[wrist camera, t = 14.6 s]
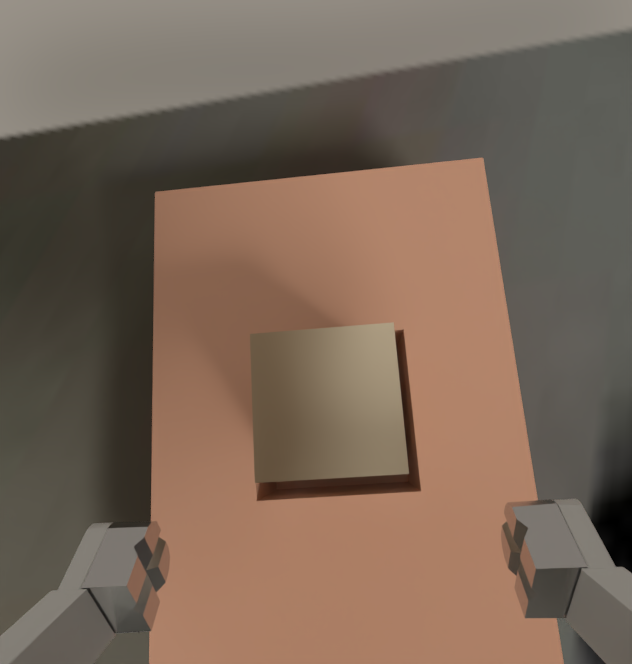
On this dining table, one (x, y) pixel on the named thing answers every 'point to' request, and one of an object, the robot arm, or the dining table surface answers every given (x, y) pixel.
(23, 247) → the dining table surface
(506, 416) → the socket
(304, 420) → the peg
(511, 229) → the dining table surface
